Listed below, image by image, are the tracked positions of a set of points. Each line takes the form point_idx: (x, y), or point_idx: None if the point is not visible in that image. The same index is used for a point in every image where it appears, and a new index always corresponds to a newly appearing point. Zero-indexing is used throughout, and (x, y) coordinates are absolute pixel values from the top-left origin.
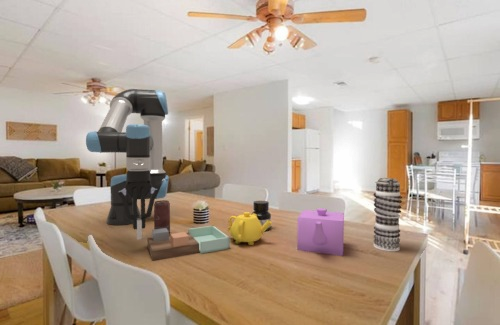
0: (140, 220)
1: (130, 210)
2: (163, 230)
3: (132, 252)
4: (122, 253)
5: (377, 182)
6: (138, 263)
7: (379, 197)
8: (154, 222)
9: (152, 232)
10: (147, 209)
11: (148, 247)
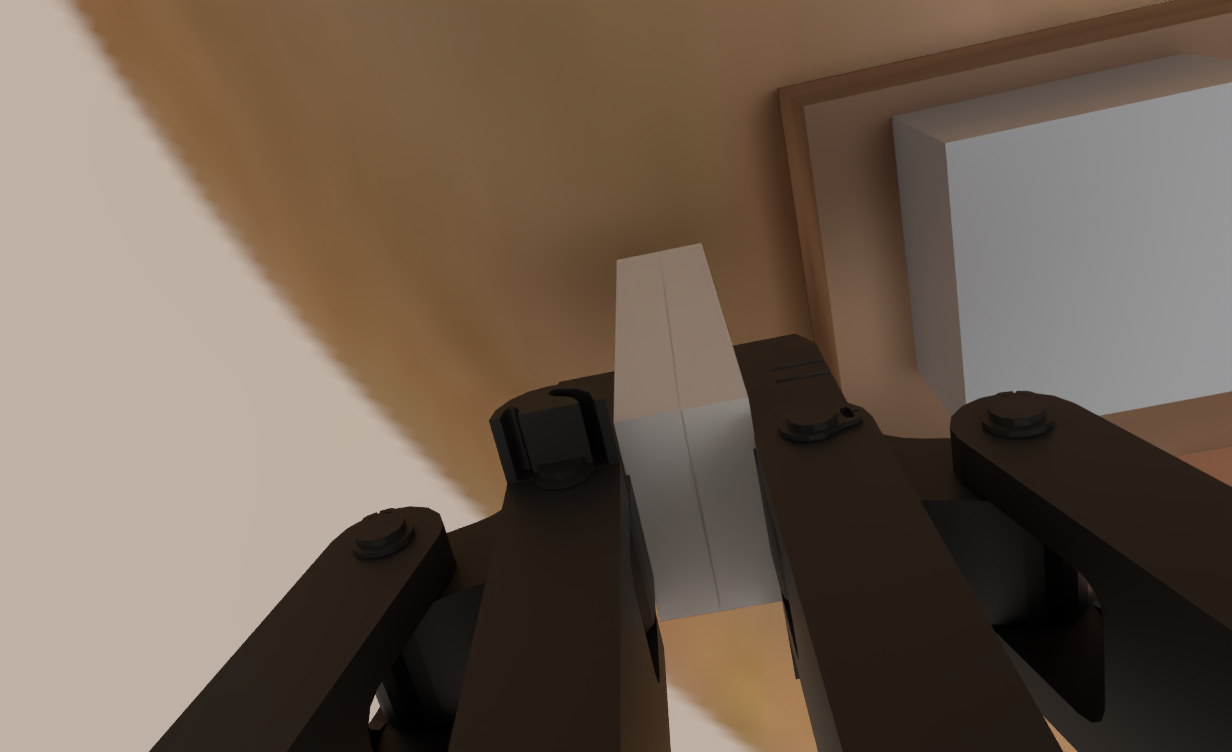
0: (749, 603)
1: None
2: (1190, 268)
3: (572, 306)
4: (435, 310)
5: None
6: (699, 661)
7: None
8: None
9: (939, 220)
10: (1071, 535)
11: (800, 221)
